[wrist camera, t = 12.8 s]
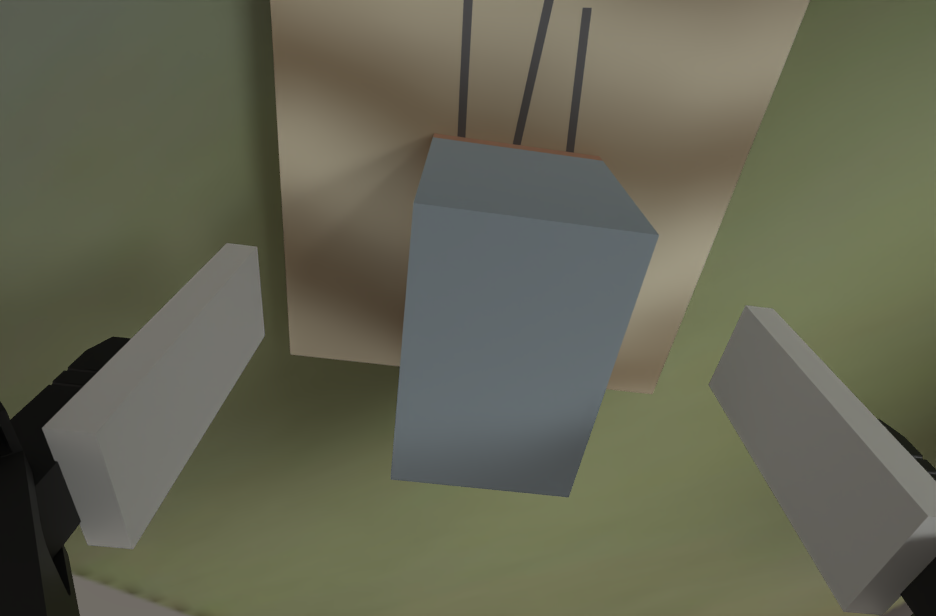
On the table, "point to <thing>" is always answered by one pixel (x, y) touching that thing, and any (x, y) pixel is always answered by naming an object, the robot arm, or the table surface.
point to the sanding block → (512, 313)
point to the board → (508, 137)
